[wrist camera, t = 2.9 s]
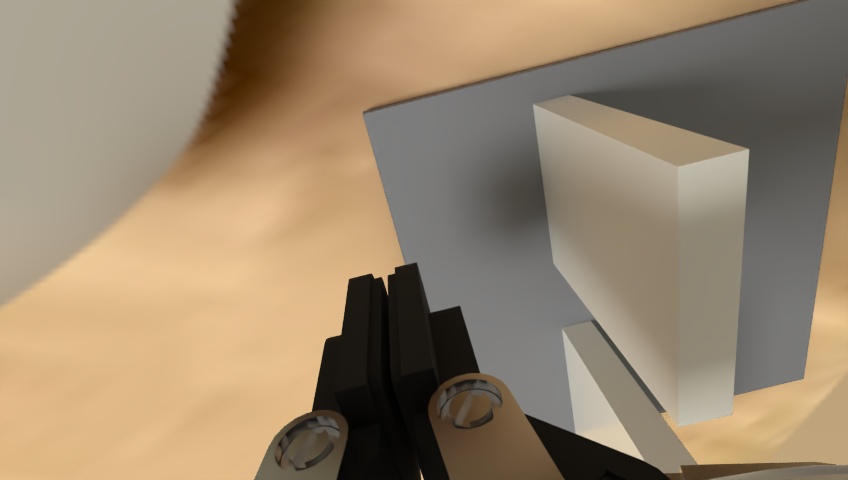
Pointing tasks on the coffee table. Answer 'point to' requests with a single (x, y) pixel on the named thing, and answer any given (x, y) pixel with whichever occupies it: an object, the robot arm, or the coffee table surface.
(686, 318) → the tile
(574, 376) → the tile
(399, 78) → the coffee table surface
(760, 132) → the mat
